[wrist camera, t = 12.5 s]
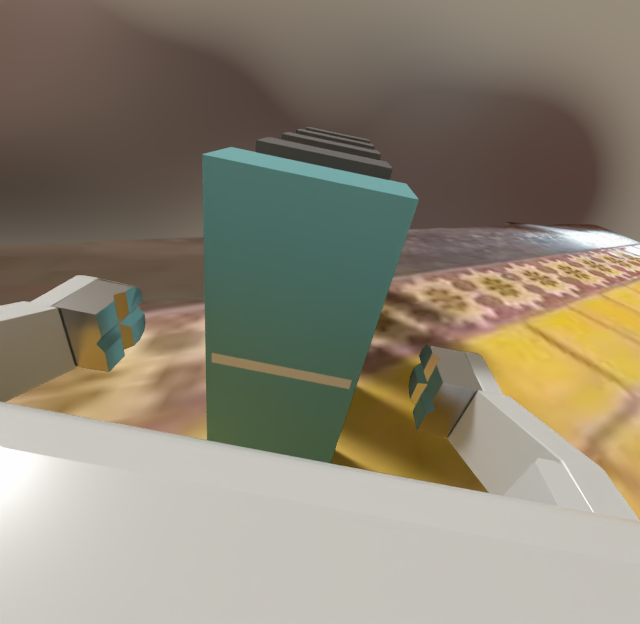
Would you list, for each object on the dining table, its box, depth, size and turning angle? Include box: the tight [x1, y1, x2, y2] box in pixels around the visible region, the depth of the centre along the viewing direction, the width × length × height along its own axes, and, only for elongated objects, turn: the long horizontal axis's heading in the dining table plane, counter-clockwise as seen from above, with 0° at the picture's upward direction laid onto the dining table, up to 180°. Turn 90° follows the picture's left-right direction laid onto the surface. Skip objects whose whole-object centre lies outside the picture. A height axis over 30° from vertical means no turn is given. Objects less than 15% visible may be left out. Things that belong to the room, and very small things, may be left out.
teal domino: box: [202, 147, 419, 463], centre depth 11 cm, size 2×5×12 cm, turn 85°
